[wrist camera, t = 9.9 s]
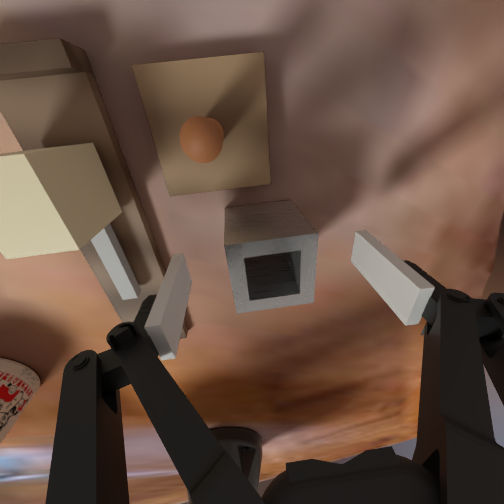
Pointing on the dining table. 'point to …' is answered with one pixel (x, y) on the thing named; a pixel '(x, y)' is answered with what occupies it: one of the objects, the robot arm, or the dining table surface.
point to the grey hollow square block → (270, 255)
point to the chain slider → (61, 208)
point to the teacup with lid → (15, 392)
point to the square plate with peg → (208, 121)
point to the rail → (79, 132)
